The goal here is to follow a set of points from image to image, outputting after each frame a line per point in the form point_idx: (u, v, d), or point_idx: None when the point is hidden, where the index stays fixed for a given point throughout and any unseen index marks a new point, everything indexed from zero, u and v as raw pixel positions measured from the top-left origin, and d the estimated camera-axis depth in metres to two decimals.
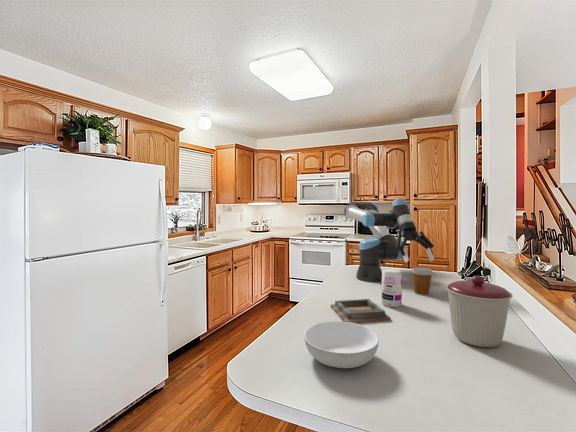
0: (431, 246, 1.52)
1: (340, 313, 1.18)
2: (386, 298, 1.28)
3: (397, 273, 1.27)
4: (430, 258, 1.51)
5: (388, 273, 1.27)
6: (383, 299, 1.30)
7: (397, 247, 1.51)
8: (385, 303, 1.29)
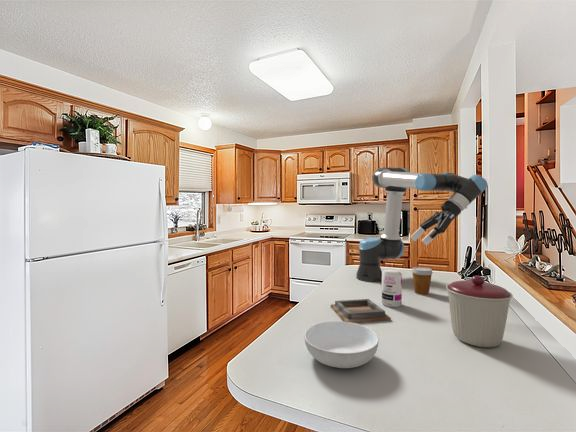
0: (425, 231, 1.36)
1: (340, 313, 1.18)
2: (386, 298, 1.28)
3: (397, 273, 1.27)
4: (414, 237, 1.35)
5: (388, 273, 1.27)
6: (383, 299, 1.30)
7: (442, 231, 1.19)
8: (385, 303, 1.29)
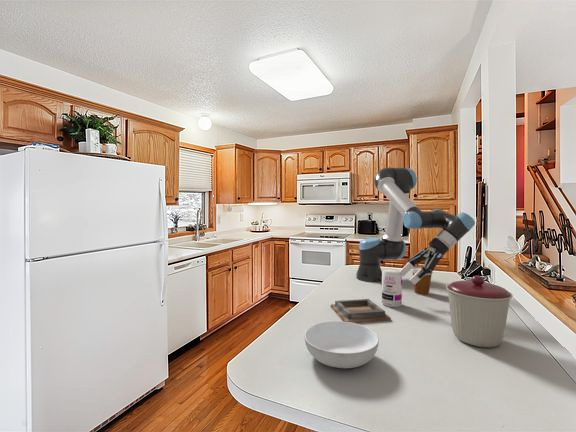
0: None
1: (340, 313, 1.18)
2: (386, 298, 1.28)
3: (397, 273, 1.27)
4: (403, 272, 1.35)
5: (388, 273, 1.27)
6: (383, 299, 1.30)
7: (429, 272, 1.18)
8: (385, 303, 1.29)
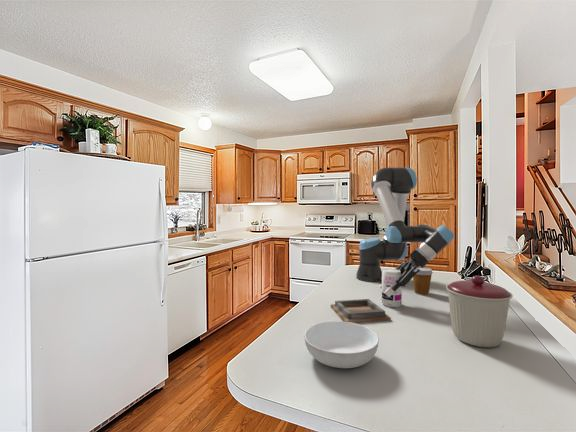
0: None
1: (340, 313, 1.18)
2: (386, 298, 1.28)
3: (397, 273, 1.27)
4: None
5: (388, 273, 1.27)
6: (383, 299, 1.30)
7: (402, 285, 1.23)
8: (385, 303, 1.29)
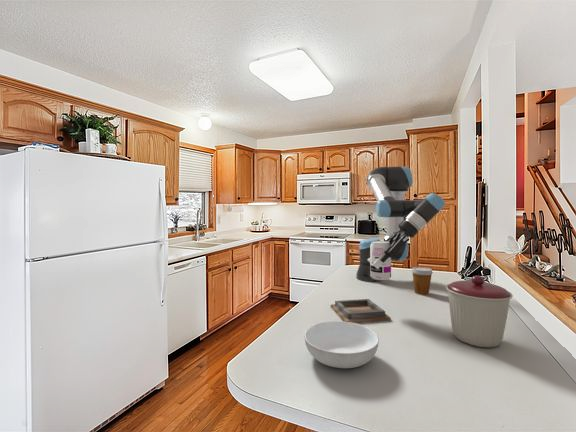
0: None
1: (340, 313, 1.18)
2: (374, 270, 1.21)
3: (386, 244, 1.20)
4: None
5: (376, 244, 1.21)
6: (372, 272, 1.23)
7: (391, 256, 1.16)
8: (374, 276, 1.22)
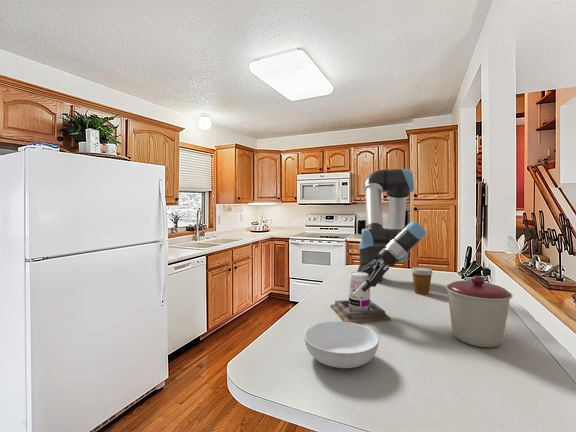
0: None
1: (340, 313, 1.18)
2: (352, 303, 1.18)
3: (364, 277, 1.17)
4: None
5: (354, 277, 1.18)
6: (350, 305, 1.20)
7: (373, 285, 1.10)
8: (352, 309, 1.19)
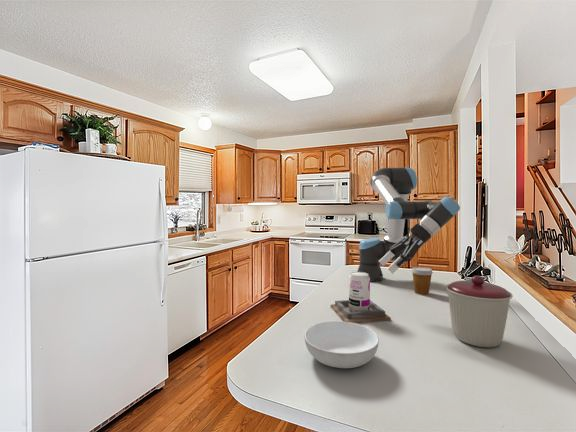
0: None
1: (340, 313, 1.18)
2: (352, 303, 1.18)
3: (364, 277, 1.17)
4: (383, 261, 1.26)
5: (354, 277, 1.18)
6: (350, 305, 1.20)
7: (408, 260, 1.09)
8: (352, 309, 1.19)
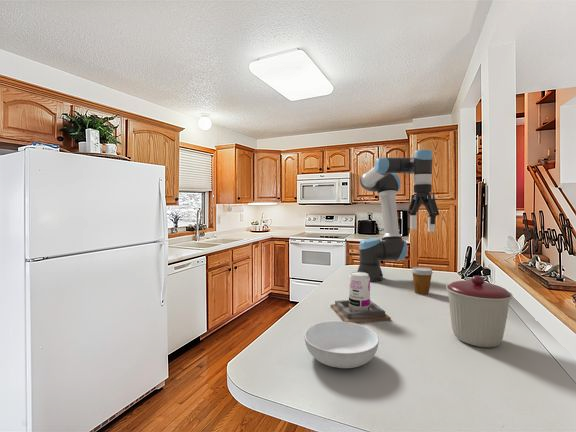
0: (415, 214, 1.46)
1: (340, 313, 1.18)
2: (352, 303, 1.18)
3: (364, 277, 1.17)
4: (413, 226, 1.45)
5: (354, 277, 1.18)
6: (350, 305, 1.20)
7: (437, 214, 1.28)
8: (352, 309, 1.19)
